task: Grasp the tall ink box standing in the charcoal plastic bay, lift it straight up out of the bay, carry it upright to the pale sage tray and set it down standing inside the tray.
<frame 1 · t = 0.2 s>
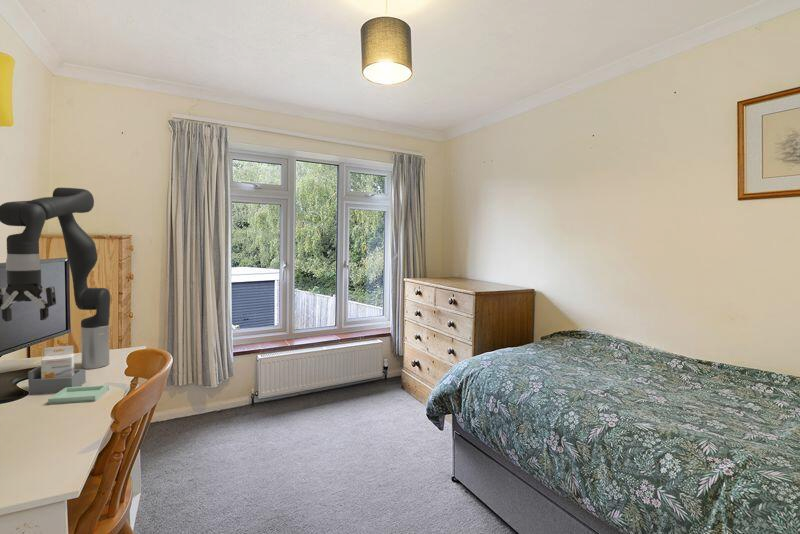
hand: (26, 320, 117), 29 cm above the table, fingers open, 8 cm apart
tray: (80, 396, 130), on the table
bay: (58, 387, 137), on the table
ink box: (58, 388, 137), resting in bay
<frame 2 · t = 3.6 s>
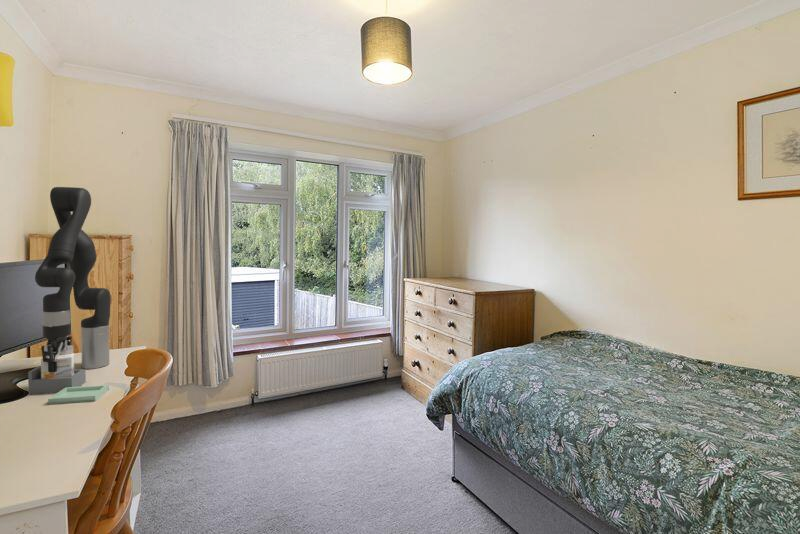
hand: (57, 368, 136), 7 cm above the table, fingers closed on ink box, 6 cm apart
ink box: (58, 388, 137), resting in bay, touching gripper
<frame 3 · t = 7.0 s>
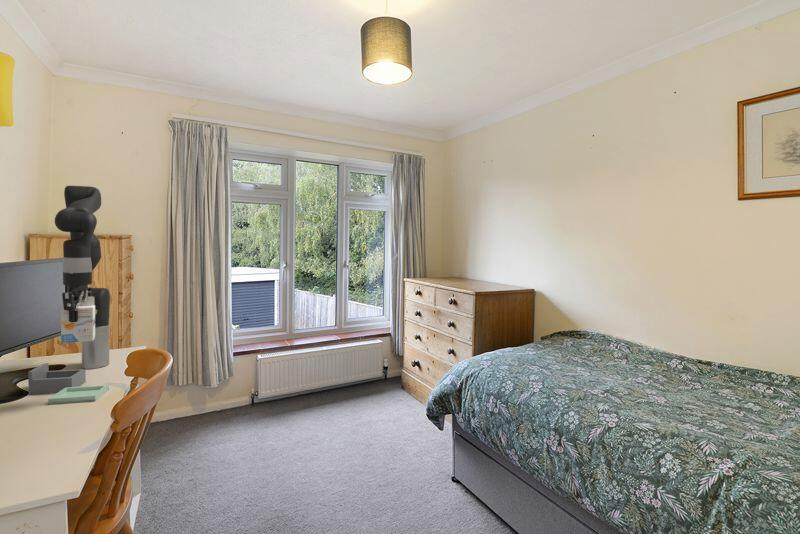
hand: (78, 319, 128), 27 cm above the table, fingers closed on ink box, 5 cm apart
ink box: (78, 341, 129), point 19 cm above the table, touching gripper
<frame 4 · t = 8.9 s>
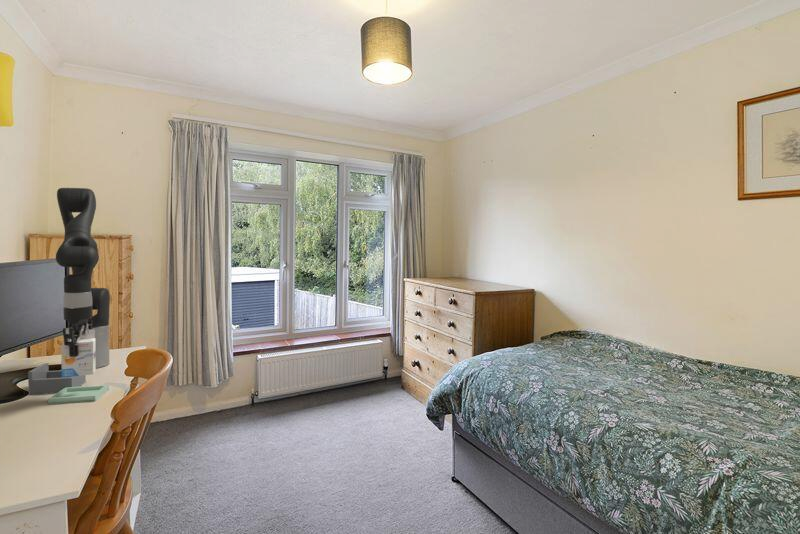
hand: (79, 353, 129), 15 cm above the table, fingers closed on ink box, 5 cm apart
ink box: (79, 374, 129), point 8 cm above the table, touching gripper
when the fingers open (9 cm above the table, at t = 10.7 s): ink box drops 1 cm, resting on tray.
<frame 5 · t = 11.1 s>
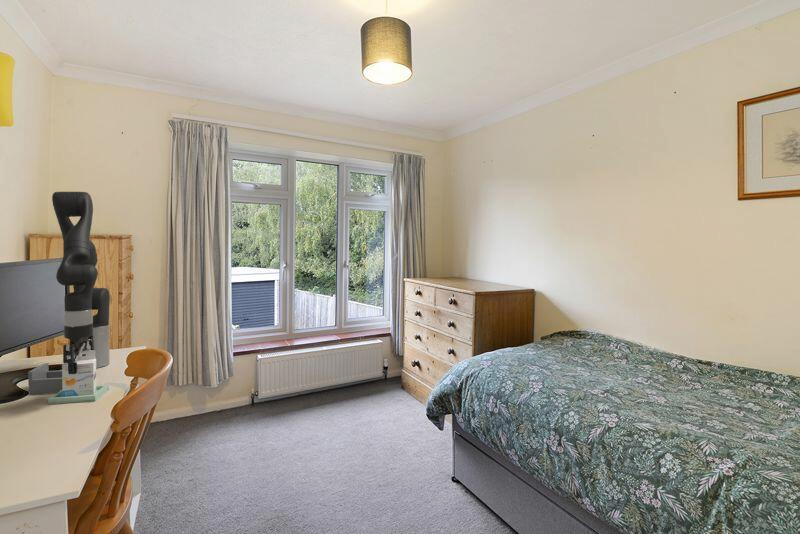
hand: (79, 369, 129), 10 cm above the table, fingers open, 8 cm apart
ink box: (80, 395, 130), resting on tray
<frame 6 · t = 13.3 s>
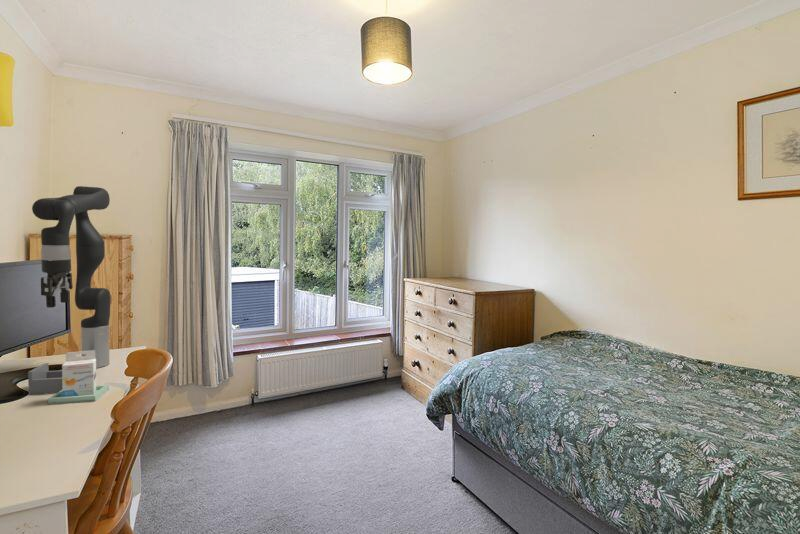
hand: (58, 304, 131), 31 cm above the table, fingers open, 8 cm apart
nothing on the table moved.
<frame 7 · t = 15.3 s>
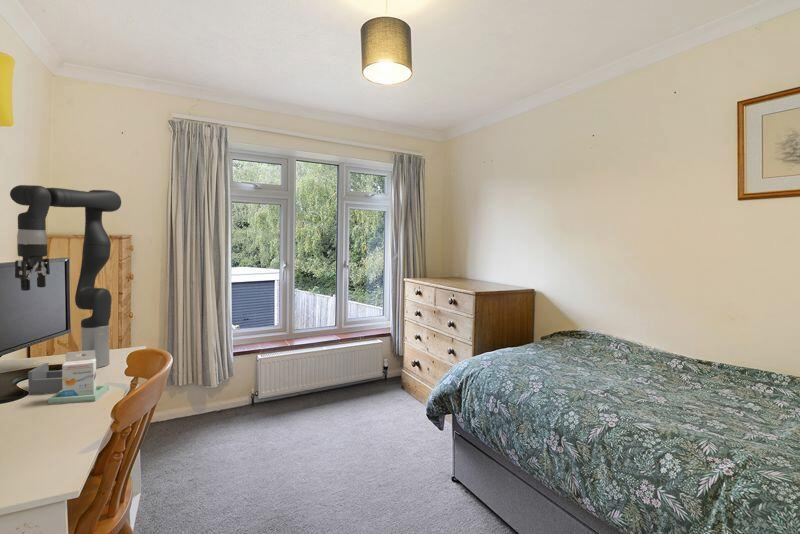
hand: (33, 288, 133), 36 cm above the table, fingers open, 8 cm apart
nothing on the table moved.
at the end: ink box 0.2 cm off-centre on the tray, point 0.4 cm above the tray's base; ink box tilted 0°; the gripper is holding nothing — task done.
